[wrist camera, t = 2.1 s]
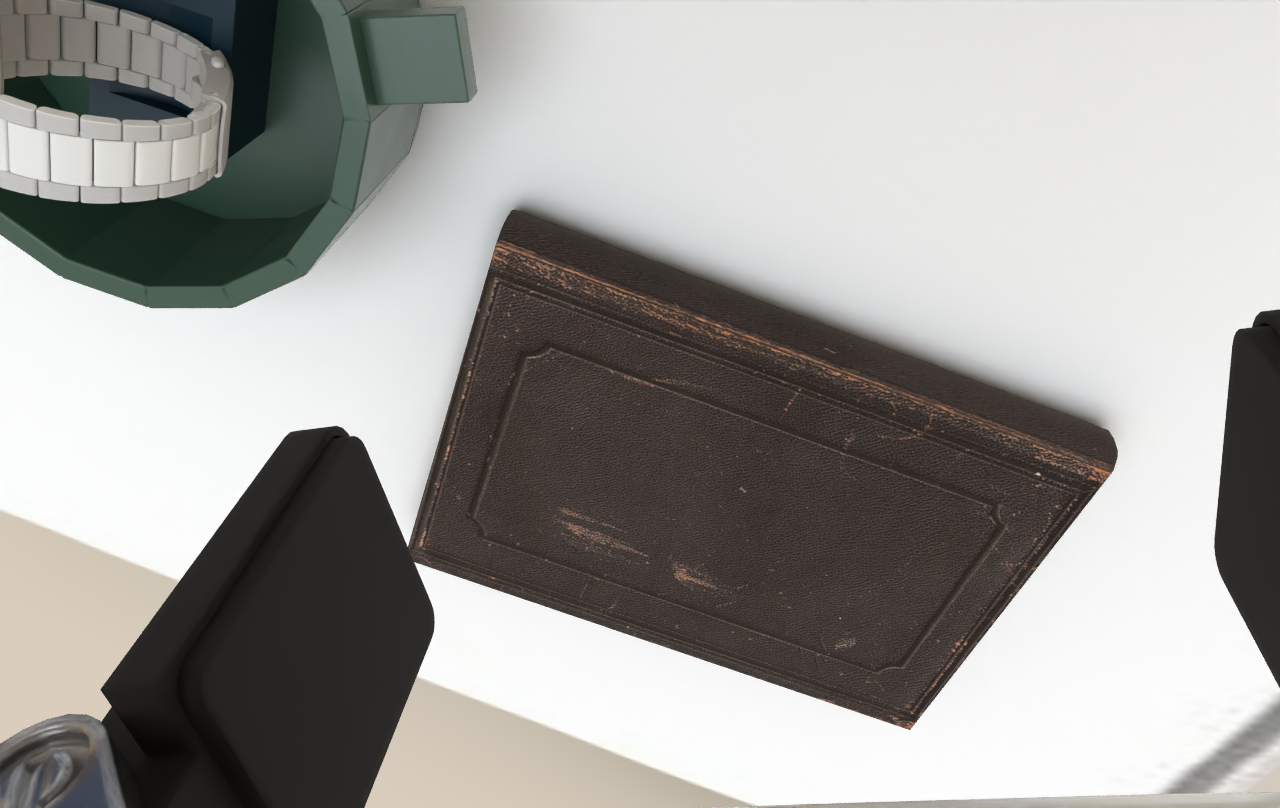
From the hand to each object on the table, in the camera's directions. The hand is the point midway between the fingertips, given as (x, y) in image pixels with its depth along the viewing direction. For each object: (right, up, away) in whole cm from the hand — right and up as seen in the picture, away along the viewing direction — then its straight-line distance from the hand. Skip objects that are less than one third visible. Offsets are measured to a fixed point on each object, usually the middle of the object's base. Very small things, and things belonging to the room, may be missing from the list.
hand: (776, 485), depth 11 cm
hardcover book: (+2, -2, +30) cm, 30 cm away
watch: (-16, +13, +22) cm, 30 cm away
